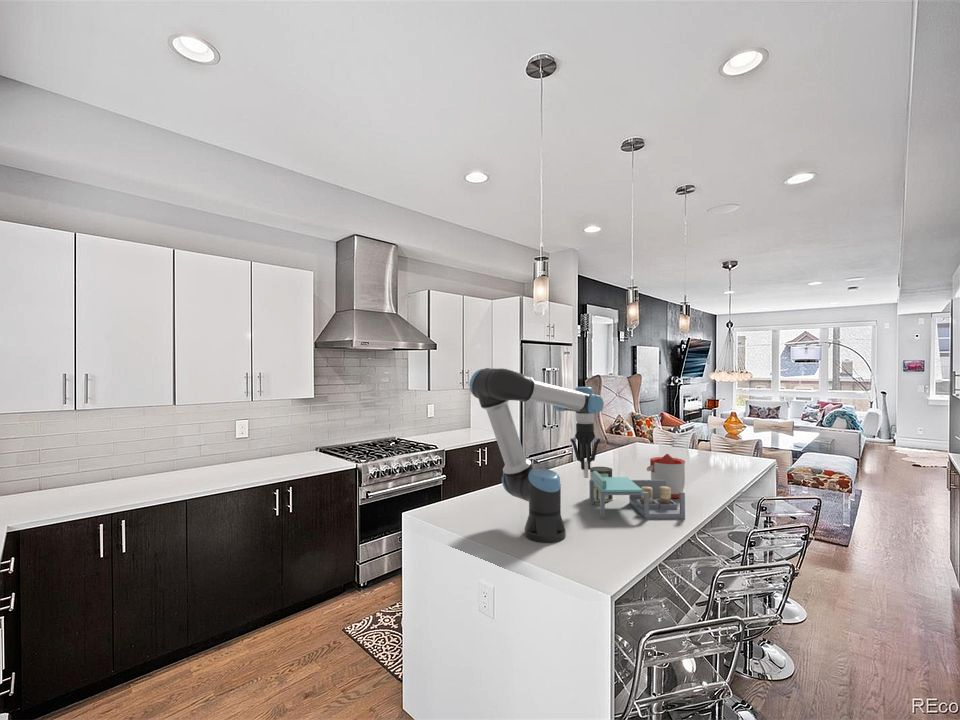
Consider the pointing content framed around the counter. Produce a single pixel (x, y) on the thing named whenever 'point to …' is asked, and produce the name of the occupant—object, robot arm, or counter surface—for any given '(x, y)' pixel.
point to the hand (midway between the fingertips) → (585, 477)
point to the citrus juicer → (669, 473)
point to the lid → (615, 484)
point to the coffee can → (604, 473)
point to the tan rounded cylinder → (649, 490)
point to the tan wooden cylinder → (665, 495)
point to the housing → (645, 501)
